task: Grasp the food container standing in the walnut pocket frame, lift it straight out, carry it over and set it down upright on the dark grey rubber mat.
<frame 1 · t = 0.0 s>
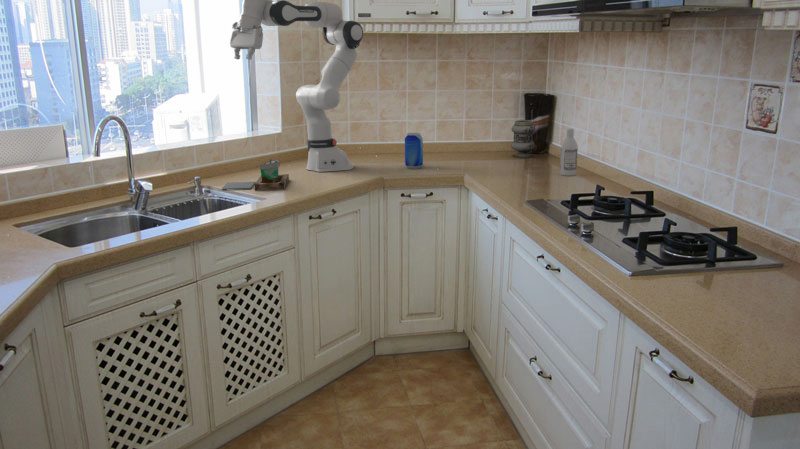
hand: (242, 59, 268), 52 cm above the counter, tool tilted 20°, fingers open, 8 cm apart
pocket frame: (272, 184, 274), on the counter
food container: (273, 185, 274), resting in pocket frame
bath foam: (567, 174, 282), on the counter
apothecary jar: (522, 156, 326), on the counter
mat: (238, 186, 273), on the counter
beer can: (414, 167, 304), on the counter
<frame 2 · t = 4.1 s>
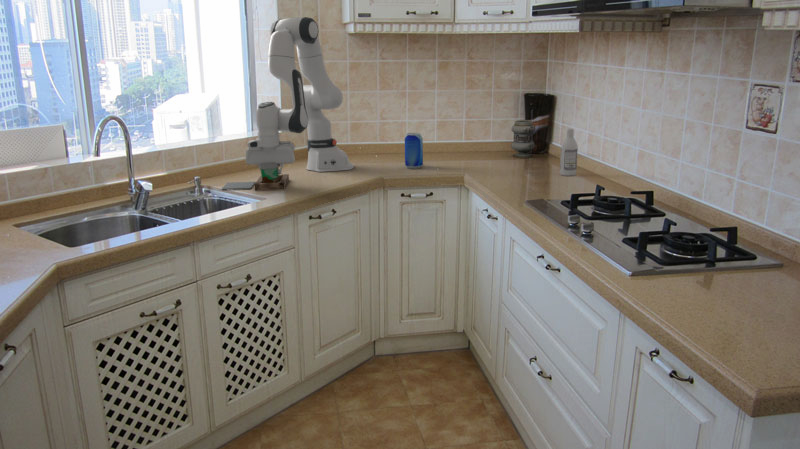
hand: (271, 174, 273), 5 cm above the counter, tool pointing down, fingers closed on food container, 6 cm apart
food container: (273, 185, 274), resting in pocket frame, touching gripper
everything else where it was.
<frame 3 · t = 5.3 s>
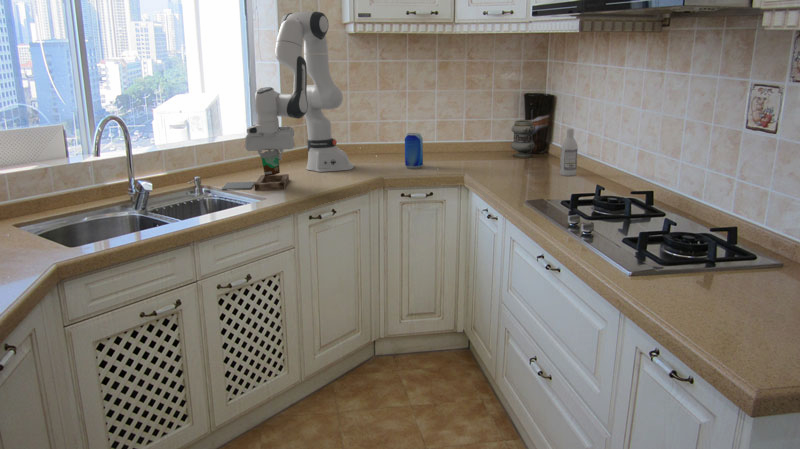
hand: (271, 160, 272), 11 cm above the counter, tool pointing down, fingers closed on food container, 5 cm apart
food container: (275, 173, 273), point 5 cm above the counter, touching gripper
everything else where it was.
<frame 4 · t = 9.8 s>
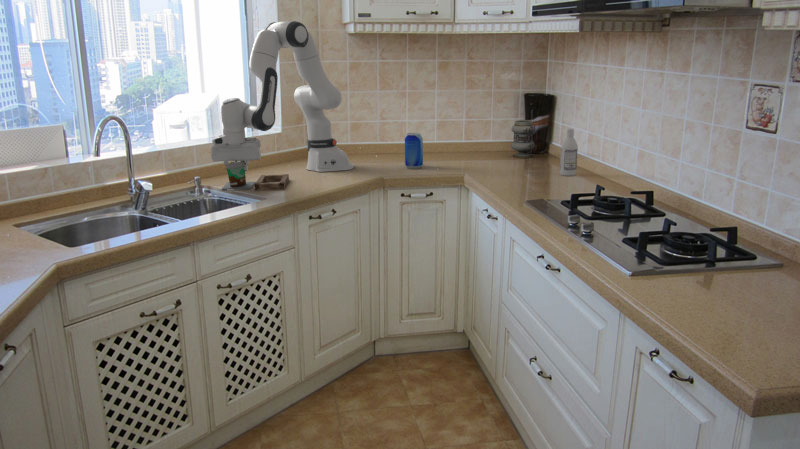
hand: (237, 171, 271), 7 cm above the counter, tool pointing down, fingers closed on food container, 5 cm apart
food container: (241, 184, 272), point 1 cm above the counter, touching gripper
everything else where it was.
when the fingers open (7 cm above the counter, at t = 10.6 s): food container stays where it is, resting on mat.
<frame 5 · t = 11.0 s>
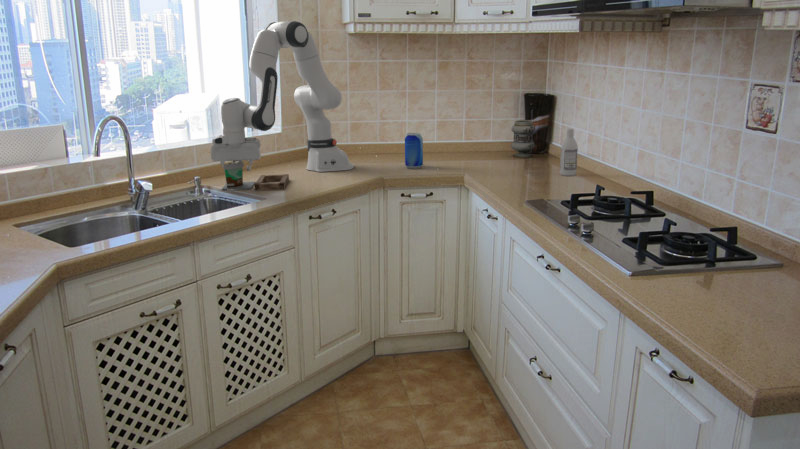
hand: (237, 171, 271), 7 cm above the counter, tool pointing down, fingers open, 8 cm apart
food container: (237, 185, 272), resting on mat
everything else where it was.
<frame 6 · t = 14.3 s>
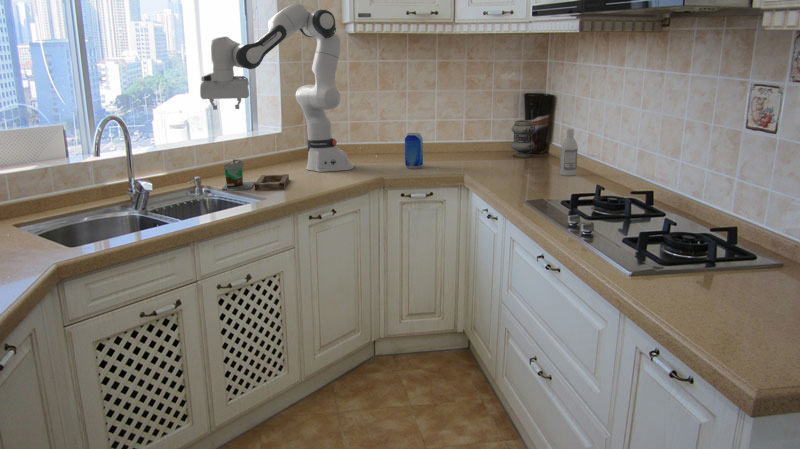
hand: (226, 109, 277), 31 cm above the counter, tool pointing down, fingers open, 8 cm apart
nothing on the counter moved.
at the end: food container inside the target area on the mat (0.4 cm from its centre), point 0.4 cm above the mat's base; food container tilted 0°; the gripper is holding nothing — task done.
